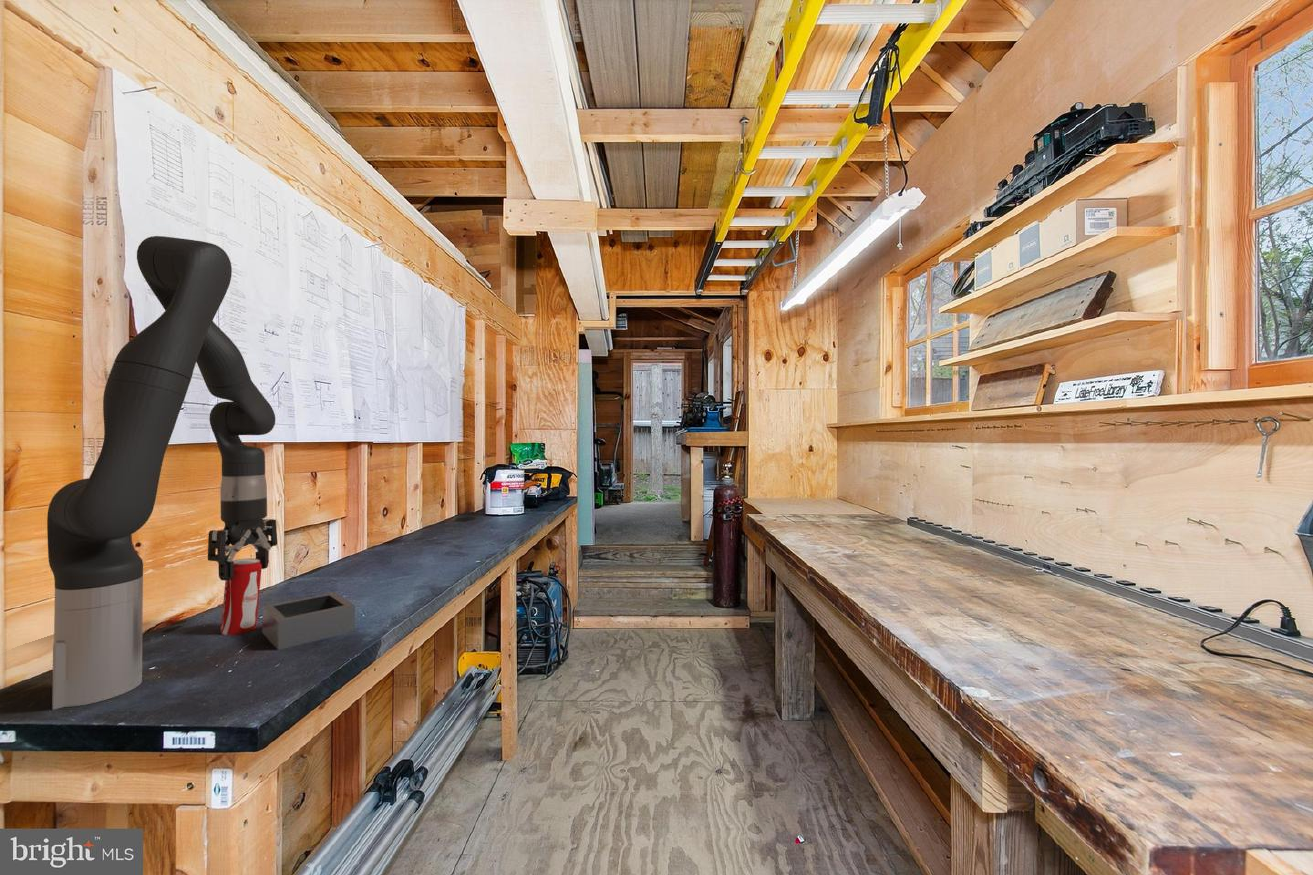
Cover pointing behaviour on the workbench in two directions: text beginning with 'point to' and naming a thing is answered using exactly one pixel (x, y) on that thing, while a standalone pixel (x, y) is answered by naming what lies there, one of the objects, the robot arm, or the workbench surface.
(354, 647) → the workbench surface
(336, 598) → the socket block
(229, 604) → the beverage can
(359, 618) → the workbench surface
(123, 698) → the workbench surface
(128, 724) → the workbench surface
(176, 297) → the robot arm
